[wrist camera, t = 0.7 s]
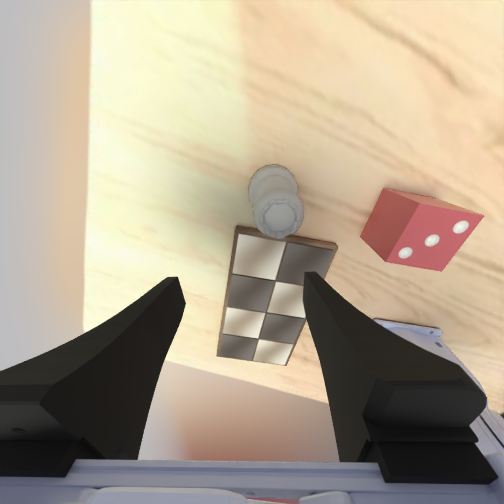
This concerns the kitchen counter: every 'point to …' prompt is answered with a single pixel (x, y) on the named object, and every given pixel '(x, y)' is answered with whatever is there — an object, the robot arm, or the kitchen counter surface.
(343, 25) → the kitchen counter surface
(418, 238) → the die
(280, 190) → the rook chess piece
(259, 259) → the game board
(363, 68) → the kitchen counter surface
